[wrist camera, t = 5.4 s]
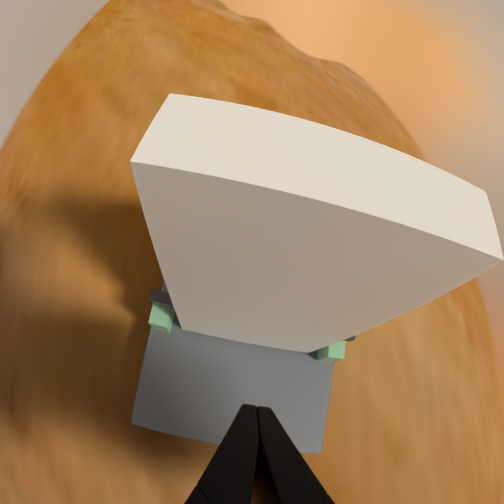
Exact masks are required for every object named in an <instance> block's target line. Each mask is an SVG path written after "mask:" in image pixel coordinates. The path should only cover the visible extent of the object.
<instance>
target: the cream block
mask: <svg viewBox="0 0 504 504" xmlns="http://www.w3.org/2000/svg"><path fill="white" fill-rule="evenodd" d="M130 163H131V167H132V171H133V175H134V179H135V183H136V187H137V191H138V195H139V199H140V202H141V206H142V210H143V213H144V217H145V220H146V224H147V227H148V230H149V234H150V237H151V240H152V244H153V247H154V250H155V253H156V256H157V259H158V263H159V266H160V269H161V272H162V275H163V278H164V281H165V284H166V286H167V289H168V292H169V293H168V292H164V291H159V290H155V289H151V292H150V295H149V299H148V300H149V302H150V303H151V304H155V305H159V306H163V307H167V308H171V309H175V312H176V315H177V317H178V320H179V323H180V325H181V328H182V329H183V330H187V331H191V332H196V333H200V334H205V335H209V336H214V337H219V338H224V339H229V340H234V341H239V342H244V343H250V344H255V345H261V346H267V347H273V348H279V349H285V350H292V351H298V352H305V353H310V352H312V351H315V350H318V349H321V348H323V347H326V346H329V345H331V344H334V343H337V342H339V341H352V340H355V335H357V334H359V333H362V332H364V331H367V330H369V329H371V328H374V327H376V326H378V325H381V324H383V323H385V322H387V321H390V320H392V319H394V318H396V317H399V316H401V315H403V314H405V313H407V312H409V311H411V310H413V309H416V308H418V307H420V306H422V305H424V304H426V303H428V302H430V301H432V300H434V299H436V298H438V297H440V296H442V295H444V294H445V293H447V292H449V291H451V290H453V289H455V288H457V287H459V286H460V285H462V284H464V283H466V282H468V281H469V280H471V279H473V278H475V277H476V276H478V275H480V274H482V273H483V272H485V271H487V270H488V269H490V268H492V267H493V266H495V265H496V264H498V263H500V262H501V261H503V255H502V250H501V246H500V241H499V237H498V233H497V229H496V225H495V222H494V218H493V214H492V211H491V207H490V205H489V201H488V198H487V195H486V192H485V191H483V190H481V189H479V188H478V187H476V186H474V185H472V184H470V183H468V182H466V181H464V180H462V179H460V178H458V177H456V176H454V175H452V174H450V173H448V172H446V171H444V170H442V169H439V168H437V167H435V166H433V165H431V164H428V163H426V162H424V161H422V160H419V159H417V158H415V157H412V156H410V155H407V154H405V153H403V152H400V151H398V150H395V149H392V148H390V147H387V146H385V145H382V144H379V143H377V142H374V141H371V140H368V139H366V138H363V137H360V136H357V135H354V134H351V133H348V132H345V131H342V130H339V129H335V128H332V127H329V126H326V125H322V124H319V123H315V122H312V121H308V120H305V119H301V118H297V117H293V116H289V115H286V114H281V113H277V112H273V111H269V110H264V109H260V108H255V107H251V106H246V105H241V104H236V103H230V102H225V101H219V100H213V99H207V98H200V97H193V96H186V95H178V94H169V96H168V97H167V99H166V100H165V102H164V103H163V105H162V107H161V108H160V110H159V111H158V113H157V115H156V116H155V118H154V120H153V121H152V123H151V125H150V126H149V128H148V130H147V131H146V133H145V135H144V137H143V138H142V140H141V142H140V144H139V146H138V147H137V149H136V151H135V153H134V155H133V157H132V159H131V160H130Z"/></svg>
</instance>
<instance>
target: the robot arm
mask: <svg viewBox="0 0 504 504" xmlns="http://www.w3.org/2000/svg"><path fill="white" fill-rule="evenodd" d="M326 494H327V492H326V490H325V489H324V488H323V486H322V485H321V483H320V482H319V480H318V479H317V478H316V476H315V475H314V473H313V472H312V470H311V469H310V467H309V466H308V464H307V463H306V461H305V460H304V458H303V457H302V455H301V454H300V452H299V451H298V449H297V448H296V446H295V445H294V443H293V442H292V440H291V439H290V437H289V435H288V434H287V432H286V431H285V429H284V428H283V426H282V424H281V423H280V421H279V420H278V418H277V416H276V415H275V413H274V412H273V410H272V409H271V408H270V407H266V406H257V407H256V406H255V405H251V404H242V405H241V407H240V409H239V411H238V412H237V414H236V416H235V418H234V420H233V422H232V423H231V425H230V427H229V429H228V431H227V433H226V434H225V436H224V438H223V440H222V442H221V443H220V445H219V447H218V449H217V450H216V452H215V454H214V456H213V457H212V459H211V461H210V463H209V464H208V466H207V468H206V470H205V471H204V473H203V475H202V476H201V478H200V480H199V481H198V483H197V486H195V488H194V489H193V491H192V493H191V494H190V496H189V497H188V499H187V500H186V502H185V503H184V504H335V503H334V502H333V500H332V499H331V497H330V496H329V495H328V494H327V495H326Z"/></svg>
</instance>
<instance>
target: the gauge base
mask: <svg viewBox="0 0 504 504" xmlns="http://www.w3.org/2000/svg"><path fill="white" fill-rule="evenodd" d="M161 291H164V292H168V289H167V286H166V284H165V281H164V280H163V284H162V287H161ZM168 293H169V292H168ZM148 323H149V324H150V325H151V329H150V333H149V338H148V342H147V346H146V350H145V355H144V359H143V364H142V368H141V373H140V377H139V382H138V387H137V392H136V397H135V402H134V408H133V413H132V418H131V424H134V425H137V426H140V427H144V428H147V429H151V430H155V431H158V432H162V433H166V434H170V435H175V436H179V437H183V438H188V439H193V440H198V441H203V442H208V443H214V444H220V443H221V442H222V440H223V438H224V436H225V434H226V433H227V431H228V429H229V427H230V425H231V423H232V422H233V420H234V418H235V416H236V414H237V412H238V411H239V409H240V407H241V405H242V404H251V405H255V406H256V407H257V406H266V407H270V408H271V409H272V410H273V412H274V413H275V415H276V416H277V418H278V420H279V421H280V423H281V424H282V426H283V428H284V429H285V431H286V432H287V434H288V435H289V437H290V439H291V440H292V442H293V443H294V445H295V446H296V448H297V449H298V451H299V452H300V453H321V448H322V443H323V437H324V431H325V425H326V418H327V412H328V405H329V398H330V390H331V382H332V374H333V365H334V361H338V360H342V359H344V354H345V343H346V341H339V342H337V343H334V344H331V345H329V346H326V347H323V348H321V349H318V350H315V351H312V352H310V353H305V352H298V351H292V350H285V349H279V348H273V347H267V346H261V345H255V344H250V343H244V342H239V341H234V340H229V339H224V338H219V337H214V336H209V335H205V334H200V333H196V332H191V331H187V330H183V329H182V328H181V325H180V323H179V320H178V317H177V315H176V312H175V309H171V308H167V307H163V306H159V305H155V304H153V306H152V310H151V314H150V318H149V322H148Z"/></svg>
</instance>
